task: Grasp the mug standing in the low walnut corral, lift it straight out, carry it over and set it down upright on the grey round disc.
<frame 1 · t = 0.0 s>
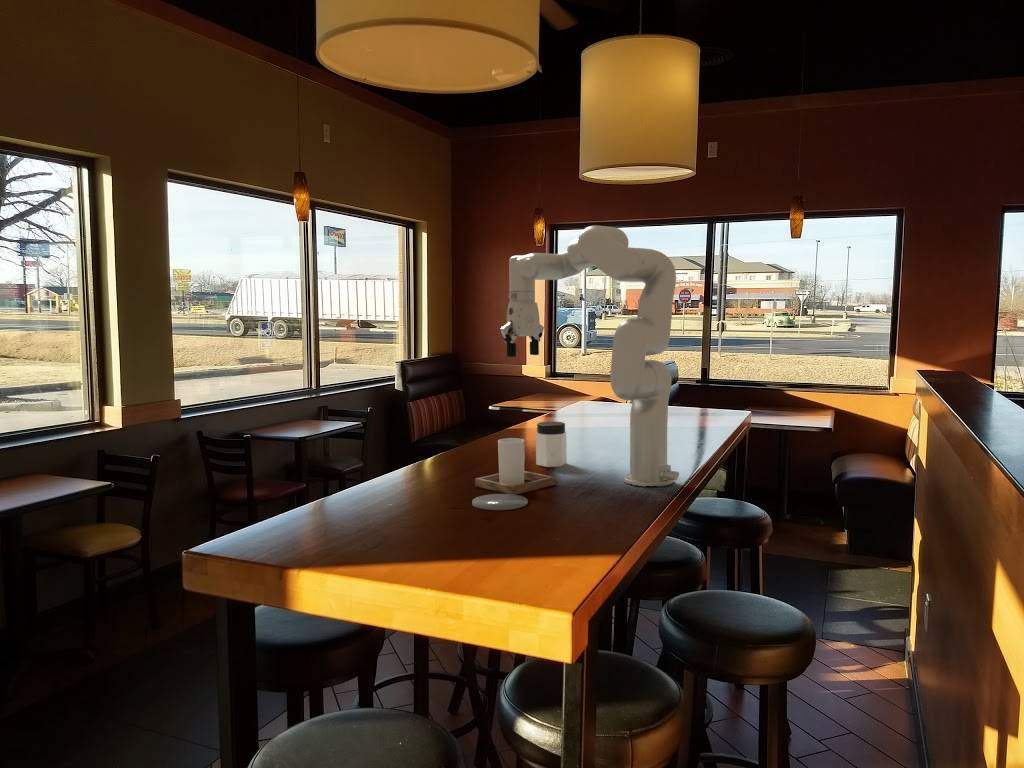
hand: (523, 355, 227), 31 cm above the table, fingers open, 9 cm apart
mug: (515, 486, 197), resting in corral
grey round disc: (499, 503, 179), on the table
jar: (551, 464, 223), on the table
corral: (515, 485, 197), on the table
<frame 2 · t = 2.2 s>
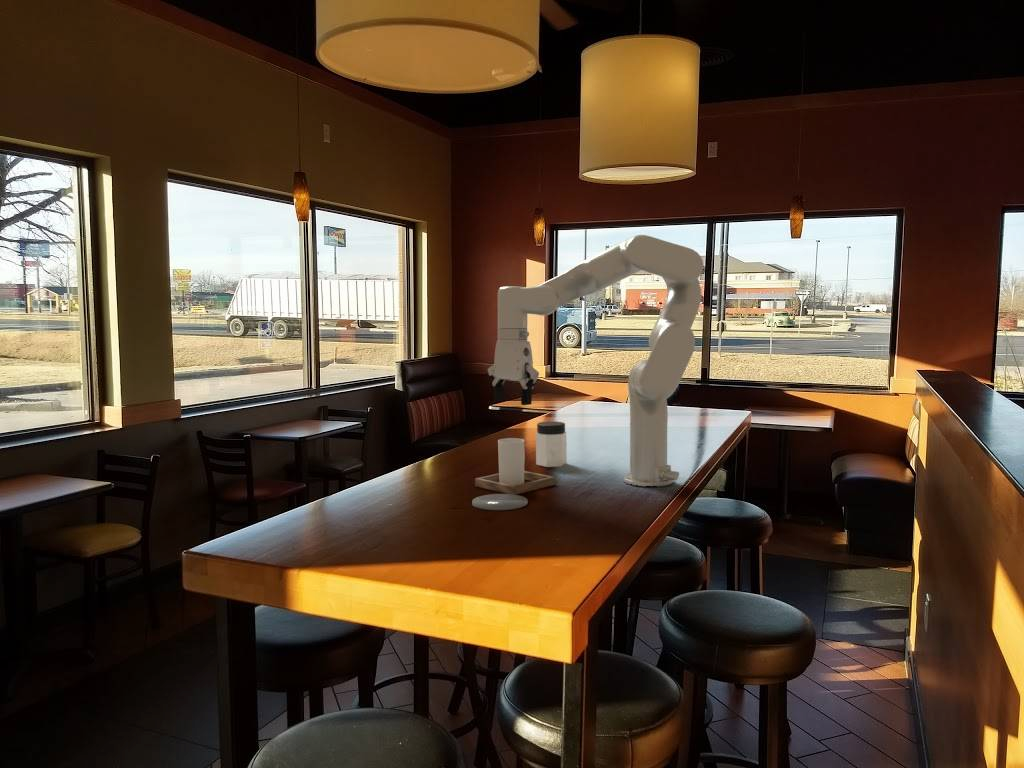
hand: (512, 403, 195), 21 cm above the table, fingers open, 9 cm apart
nothing on the table moved.
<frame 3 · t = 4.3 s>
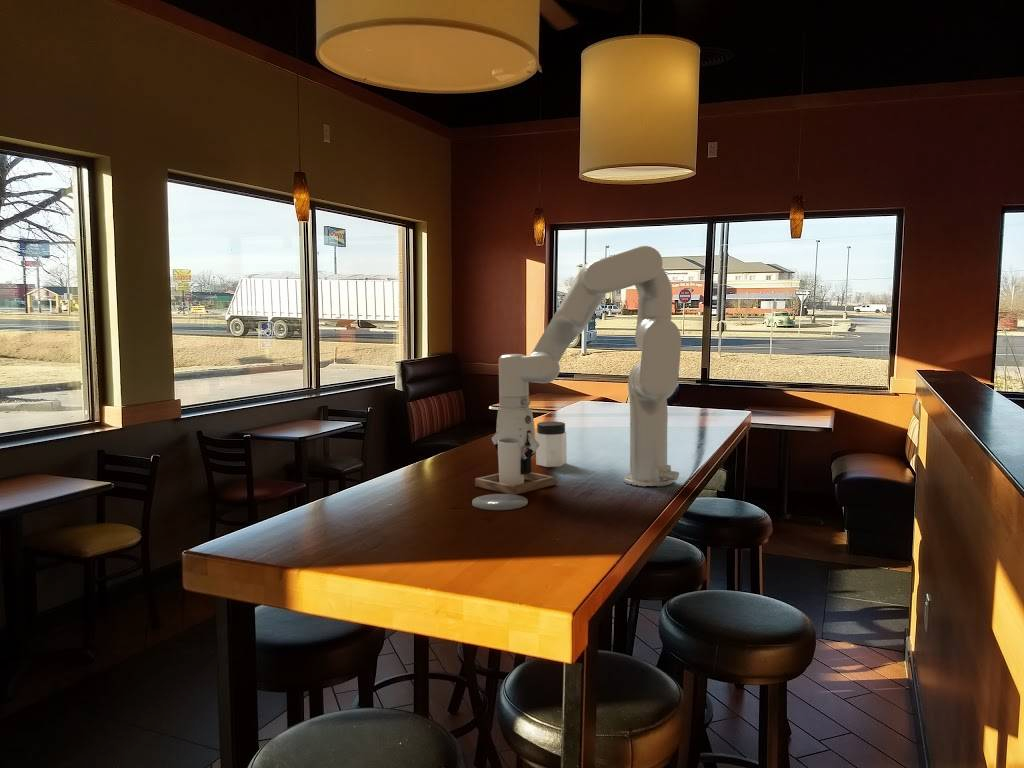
hand: (515, 471, 196), 4 cm above the table, fingers open, 6 cm apart
mug: (514, 486, 197), resting in corral, touching gripper
everything else where it was.
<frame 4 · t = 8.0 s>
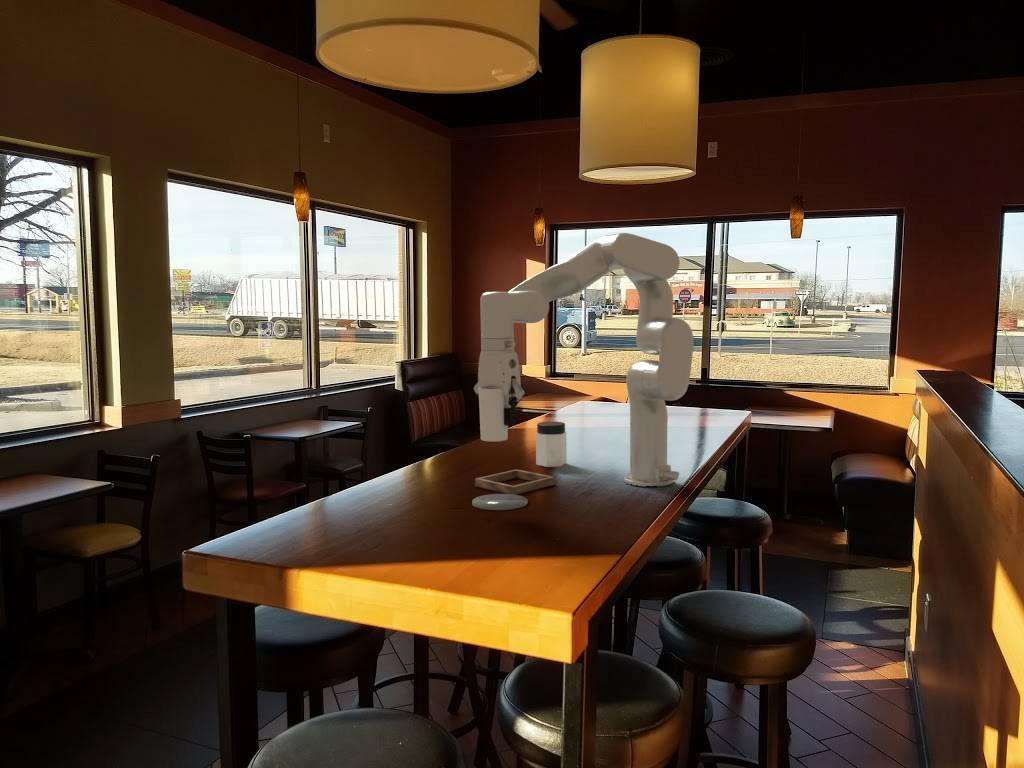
hand: (498, 422, 177), 19 cm above the table, fingers closed on mug, 6 cm apart
mug: (498, 439, 178), point 15 cm above the table, touching gripper
everything else where it was.
when the fingers open (5 cm above the table, at t = 11.3 s): mug drops 1 cm, resting on grey round disc.
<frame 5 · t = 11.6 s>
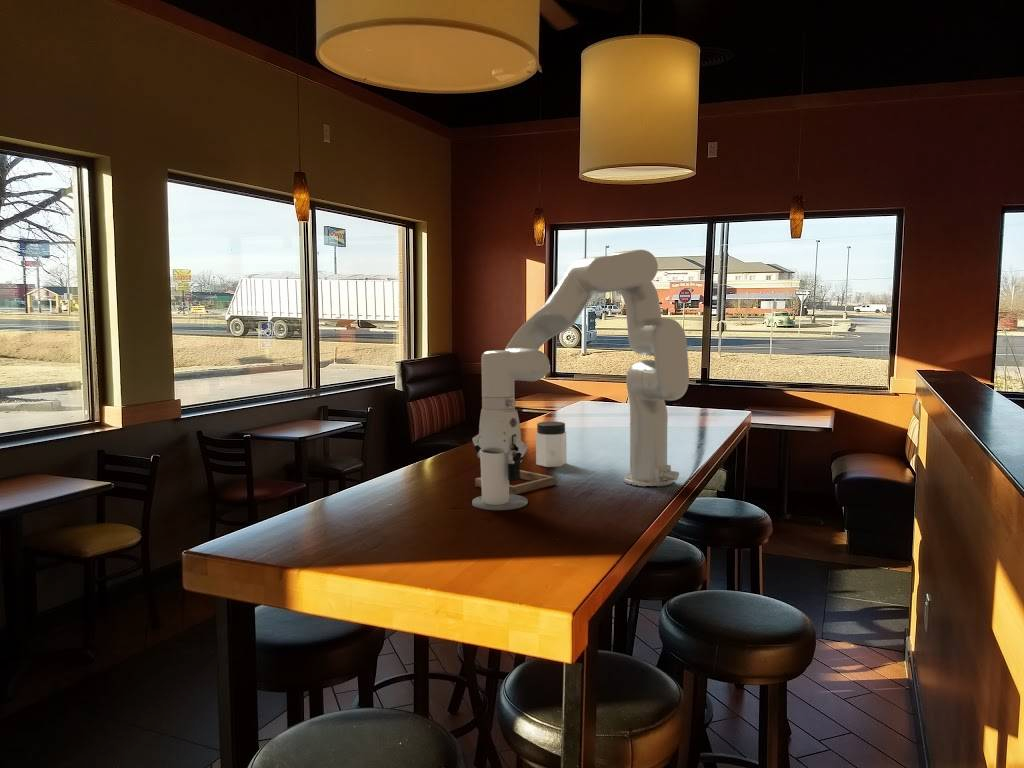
hand: (499, 476, 178), 6 cm above the table, fingers open, 9 cm apart
mug: (499, 501, 179), resting on grey round disc
everything else where it was.
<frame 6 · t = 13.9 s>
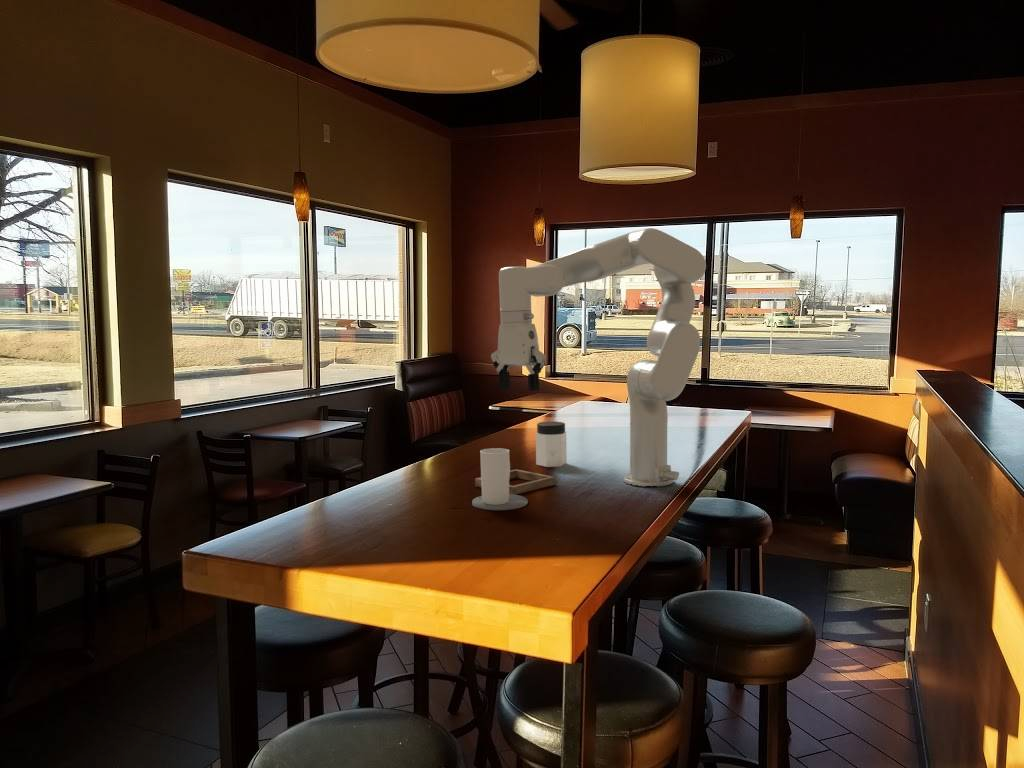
hand: (519, 389, 186), 26 cm above the table, fingers open, 9 cm apart
nothing on the table moved.
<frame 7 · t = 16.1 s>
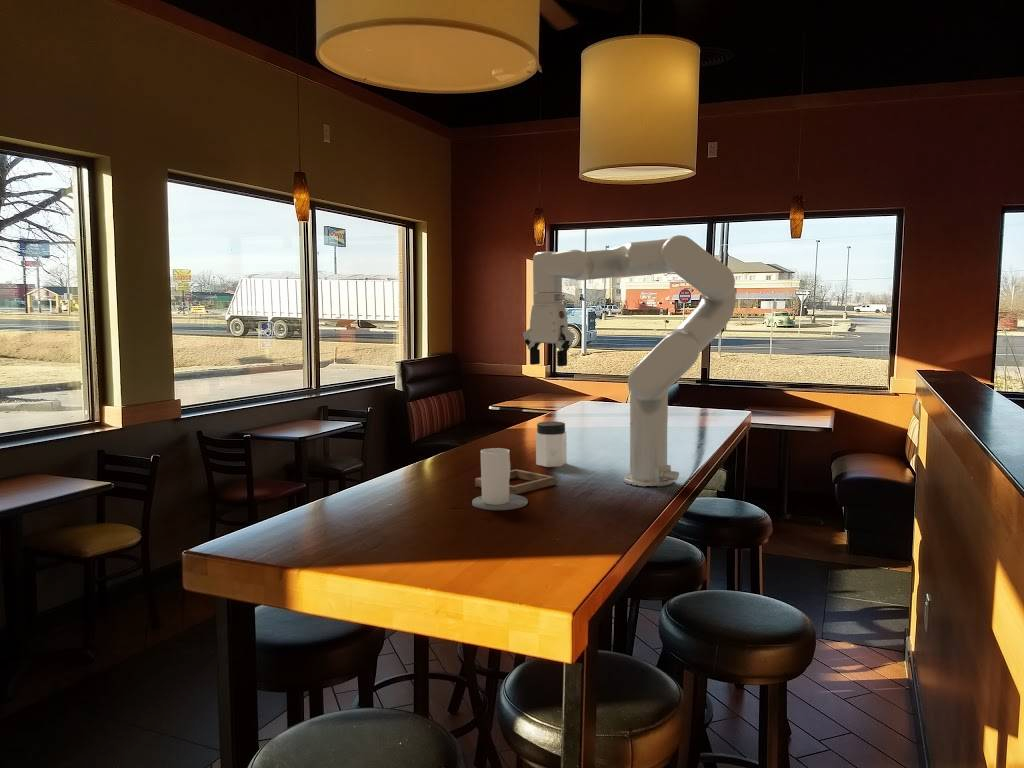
hand: (548, 365, 201), 30 cm above the table, fingers open, 9 cm apart
nothing on the table moved.
at the end: mug 0.4 cm from the grey round disc (horizontally); mug tilted 1°; mug resting on grey round disc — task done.
